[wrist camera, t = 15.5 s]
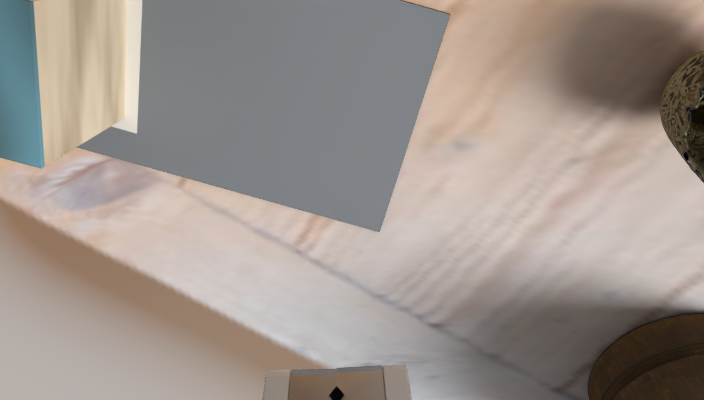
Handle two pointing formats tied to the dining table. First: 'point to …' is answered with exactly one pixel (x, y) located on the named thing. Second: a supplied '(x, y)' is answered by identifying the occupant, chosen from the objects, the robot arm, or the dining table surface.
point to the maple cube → (59, 75)
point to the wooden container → (653, 363)
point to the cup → (686, 112)
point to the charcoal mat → (277, 97)
